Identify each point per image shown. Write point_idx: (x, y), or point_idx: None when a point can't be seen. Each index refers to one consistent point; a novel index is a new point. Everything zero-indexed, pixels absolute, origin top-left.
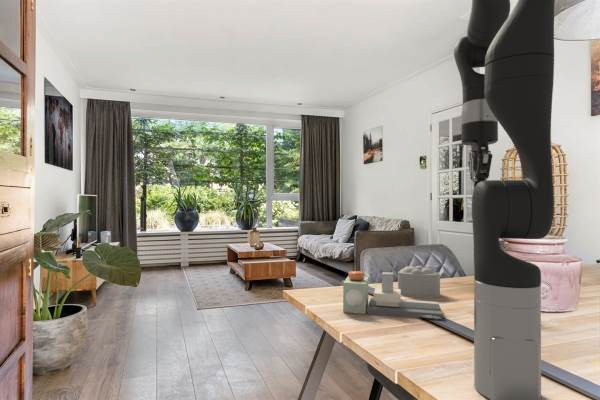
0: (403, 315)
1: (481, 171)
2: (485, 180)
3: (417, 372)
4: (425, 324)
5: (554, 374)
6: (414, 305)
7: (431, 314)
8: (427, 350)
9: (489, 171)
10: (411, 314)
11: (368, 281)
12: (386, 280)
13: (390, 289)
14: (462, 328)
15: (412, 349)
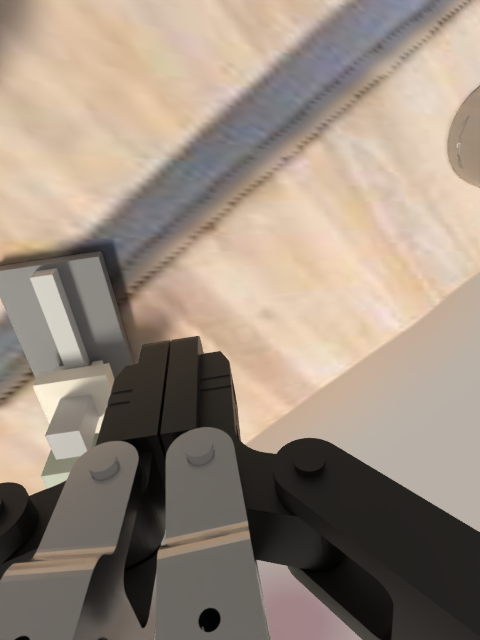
0: (126, 338)
1: (121, 593)
2: (230, 443)
3: (441, 273)
4: (163, 286)
5: (402, 15)
6: (76, 329)
7: (107, 282)
8: (336, 267)
9: (407, 492)
10: (120, 324)
11: (45, 466)
12: (88, 431)
13: (90, 405)
14: (153, 201)
15: (339, 292)
